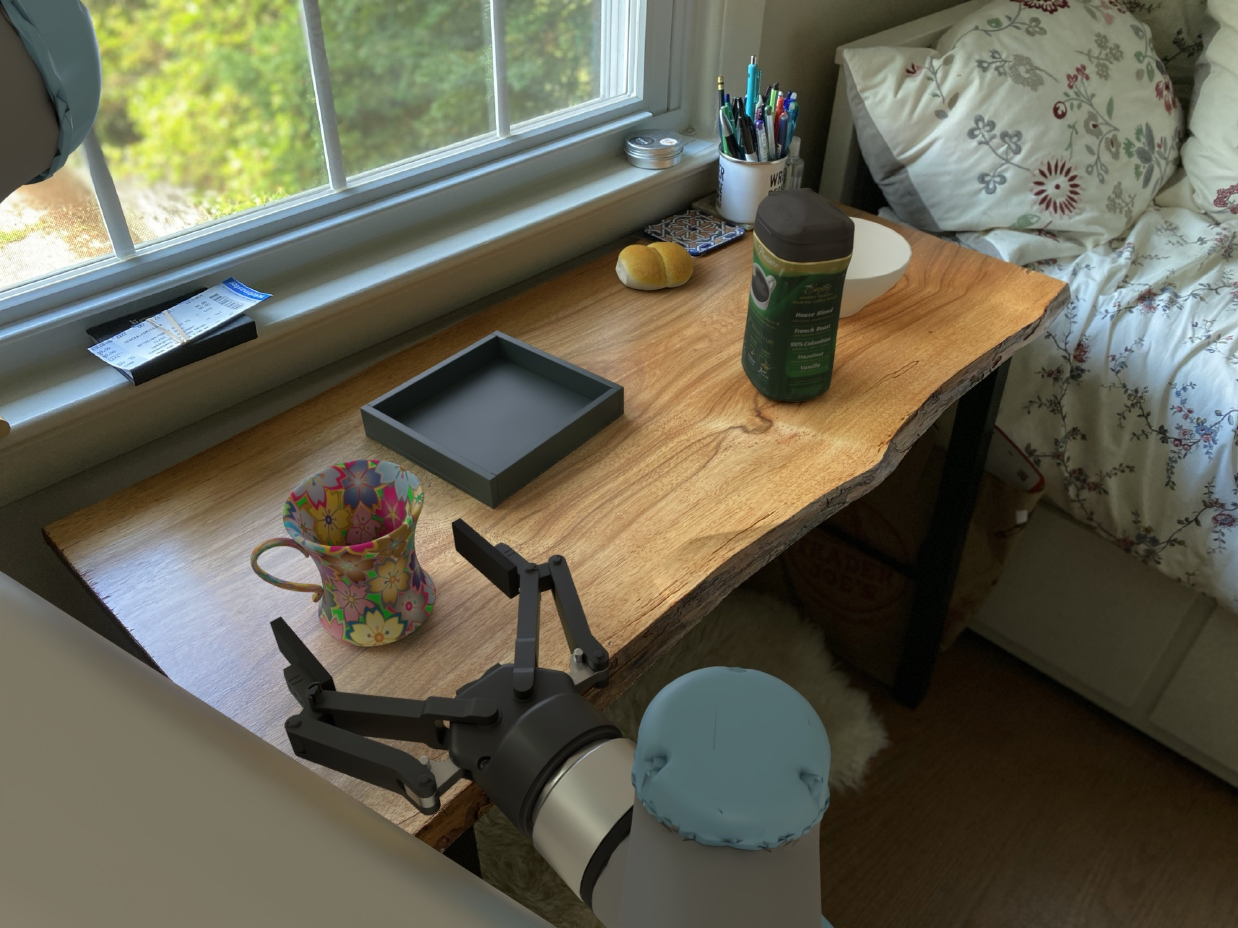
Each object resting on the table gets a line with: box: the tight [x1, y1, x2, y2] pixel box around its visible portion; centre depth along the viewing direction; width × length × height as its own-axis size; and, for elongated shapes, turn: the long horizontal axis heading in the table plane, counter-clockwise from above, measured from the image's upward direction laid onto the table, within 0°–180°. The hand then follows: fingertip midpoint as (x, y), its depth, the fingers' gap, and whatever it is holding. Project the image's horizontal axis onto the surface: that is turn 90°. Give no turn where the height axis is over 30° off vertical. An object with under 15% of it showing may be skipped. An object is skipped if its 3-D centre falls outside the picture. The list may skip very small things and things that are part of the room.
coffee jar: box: [740, 187, 855, 403], centre depth 87 cm, size 10×8×19 cm
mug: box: [249, 459, 437, 647], centre depth 65 cm, size 12×9×11 cm
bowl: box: [839, 216, 913, 319], centre depth 103 cm, size 16×16×7 cm
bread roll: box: [615, 241, 694, 291], centre depth 109 cm, size 8×9×4 cm
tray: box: [359, 330, 625, 510], centre depth 86 cm, size 18×17×3 cm
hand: (373, 580), depth 63 cm, fingers open, 13 cm apart
